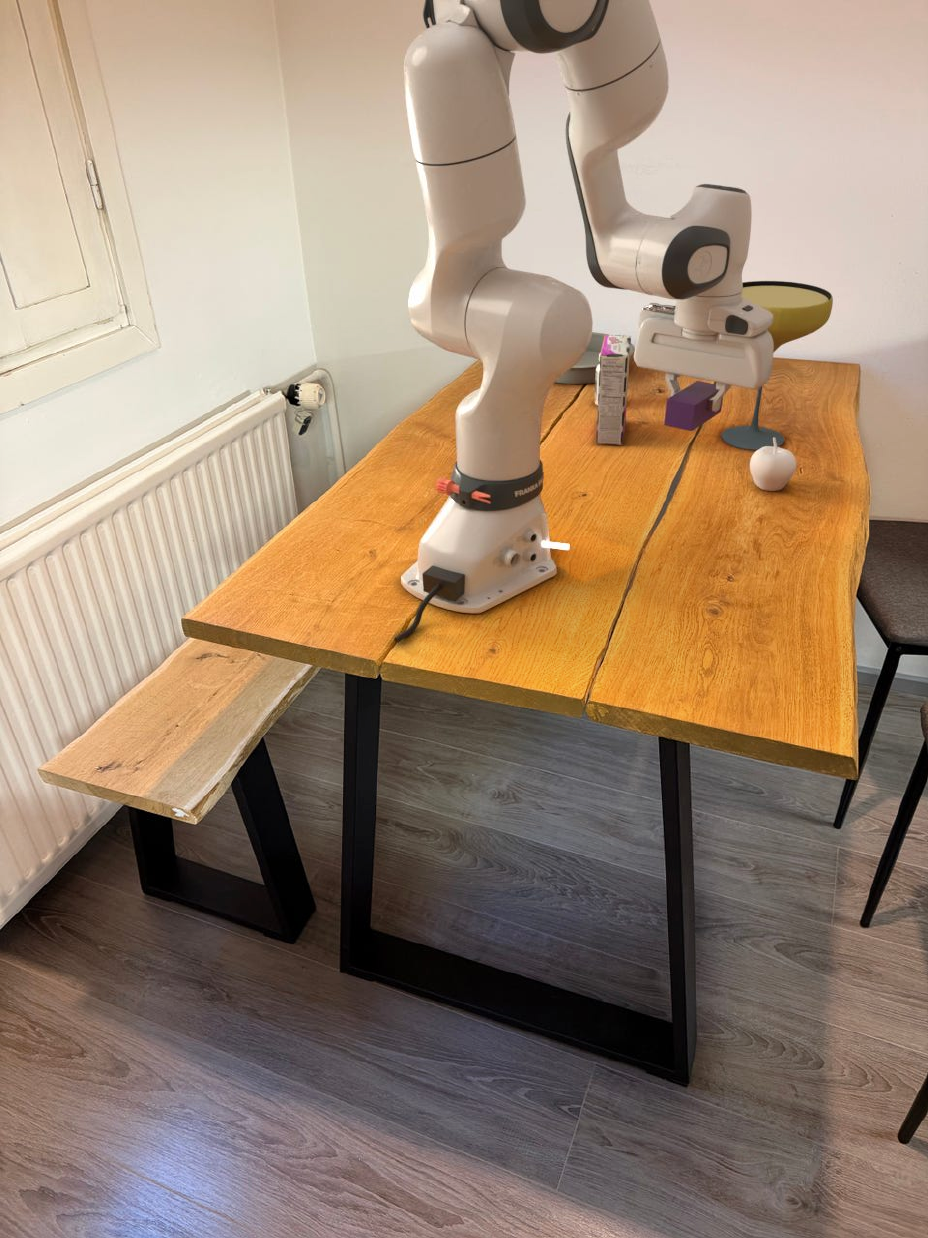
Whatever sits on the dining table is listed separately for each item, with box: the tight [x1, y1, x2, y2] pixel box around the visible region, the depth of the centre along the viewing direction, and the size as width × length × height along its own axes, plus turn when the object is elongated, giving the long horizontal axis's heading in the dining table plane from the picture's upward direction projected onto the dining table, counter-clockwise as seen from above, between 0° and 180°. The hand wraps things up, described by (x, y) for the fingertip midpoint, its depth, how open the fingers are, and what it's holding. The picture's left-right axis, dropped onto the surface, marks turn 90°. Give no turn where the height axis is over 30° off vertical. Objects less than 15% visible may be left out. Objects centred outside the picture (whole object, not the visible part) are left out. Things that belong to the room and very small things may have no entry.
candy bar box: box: [595, 334, 632, 446], centre depth 158 cm, size 11×5×16 cm, turn 168°
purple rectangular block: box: [663, 380, 724, 432], centre depth 132 cm, size 10×4×4 cm, turn 142°
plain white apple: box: [749, 438, 797, 492], centre depth 140 cm, size 7×7×8 cm
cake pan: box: [554, 331, 635, 385], centre depth 192 cm, size 25×25×4 cm
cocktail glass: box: [720, 280, 834, 451], centre depth 151 cm, size 18×18×25 cm
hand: (694, 405), depth 132 cm, fingers closed on purple rectangular block, 4 cm apart
